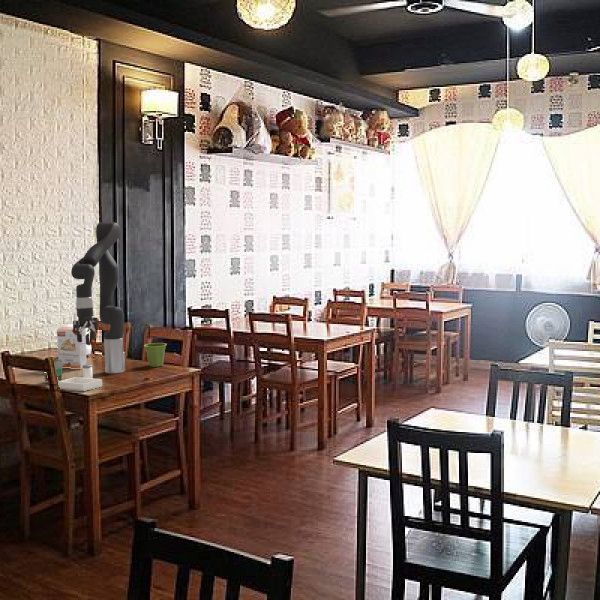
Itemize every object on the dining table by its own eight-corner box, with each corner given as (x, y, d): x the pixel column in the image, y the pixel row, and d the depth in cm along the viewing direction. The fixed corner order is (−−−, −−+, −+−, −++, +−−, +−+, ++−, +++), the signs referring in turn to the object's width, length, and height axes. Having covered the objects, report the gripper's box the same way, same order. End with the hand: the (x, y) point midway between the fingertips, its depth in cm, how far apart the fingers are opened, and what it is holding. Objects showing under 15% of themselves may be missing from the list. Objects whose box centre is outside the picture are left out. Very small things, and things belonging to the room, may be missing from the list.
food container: (56, 385, 363) (55, 363, 362) (44, 384, 364) (42, 363, 363) (68, 379, 375) (68, 359, 374) (57, 379, 376) (56, 359, 375)
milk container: (54, 359, 434) (52, 327, 432) (69, 354, 450) (68, 323, 449) (82, 360, 430) (80, 327, 428) (97, 355, 446) (95, 323, 445)
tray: (75, 384, 364) (75, 376, 364) (102, 386, 357) (102, 379, 357) (57, 389, 353) (56, 381, 353) (84, 392, 346) (83, 384, 346)
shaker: (87, 380, 371) (86, 364, 371) (94, 381, 369) (94, 365, 369) (81, 382, 368) (80, 365, 367) (88, 383, 366) (87, 366, 365)
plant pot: (141, 365, 411) (140, 344, 409) (163, 363, 416) (162, 342, 415) (148, 368, 400) (148, 347, 399) (170, 366, 406) (169, 345, 405)
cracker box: (58, 368, 405) (56, 328, 403) (65, 366, 411) (63, 327, 409) (80, 370, 400) (78, 329, 398) (87, 367, 406) (85, 328, 404)
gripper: (89, 304, 373) (90, 338, 375) (67, 308, 360) (69, 342, 362) (101, 305, 370) (102, 339, 371) (80, 308, 357) (81, 343, 359)
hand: (86, 340), depth 367 cm, fingers open, 8 cm apart
